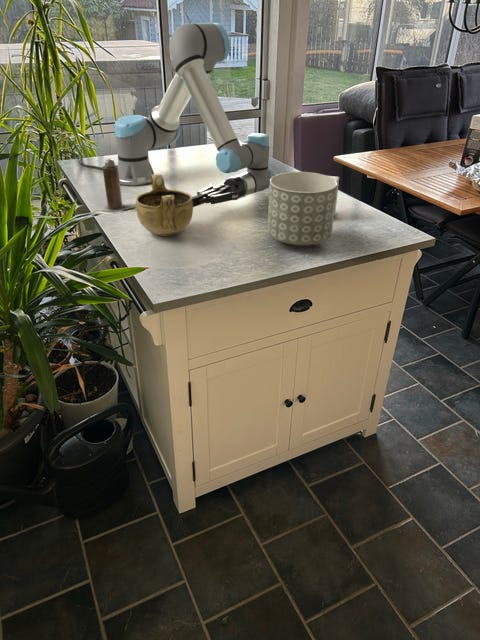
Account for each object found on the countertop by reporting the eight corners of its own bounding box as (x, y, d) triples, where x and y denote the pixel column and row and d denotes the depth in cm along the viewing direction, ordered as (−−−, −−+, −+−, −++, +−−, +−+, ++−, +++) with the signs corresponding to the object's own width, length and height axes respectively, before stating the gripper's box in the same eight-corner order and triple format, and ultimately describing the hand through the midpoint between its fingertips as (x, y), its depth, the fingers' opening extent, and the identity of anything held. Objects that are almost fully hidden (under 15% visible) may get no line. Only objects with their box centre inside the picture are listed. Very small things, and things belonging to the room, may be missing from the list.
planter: (272, 226, 161) (275, 169, 151) (332, 231, 158) (338, 174, 148) (262, 251, 145) (264, 189, 136) (328, 257, 142) (335, 194, 133)
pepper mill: (105, 207, 175) (98, 159, 166) (117, 203, 177) (112, 156, 169) (112, 210, 171) (106, 162, 163) (125, 207, 174) (119, 159, 165)
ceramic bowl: (134, 221, 164) (129, 175, 155) (186, 216, 168) (183, 171, 160) (144, 249, 146) (139, 198, 137) (201, 242, 150) (199, 193, 142)
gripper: (252, 201, 171) (202, 220, 156) (225, 193, 178) (174, 210, 163) (253, 179, 167) (201, 196, 152) (224, 171, 174) (173, 187, 159)
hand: (187, 203), depth 158 cm, fingers closed
